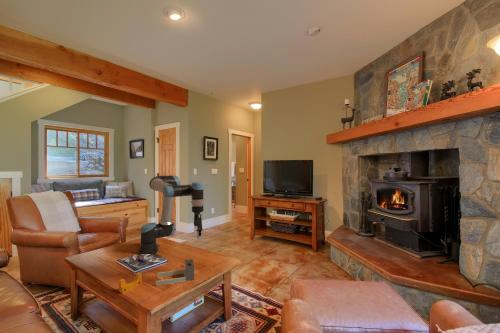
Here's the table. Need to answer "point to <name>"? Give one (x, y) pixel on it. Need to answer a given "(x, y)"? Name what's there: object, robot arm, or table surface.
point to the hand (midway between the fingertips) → (197, 238)
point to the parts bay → (170, 281)
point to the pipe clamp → (130, 284)
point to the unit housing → (189, 269)
